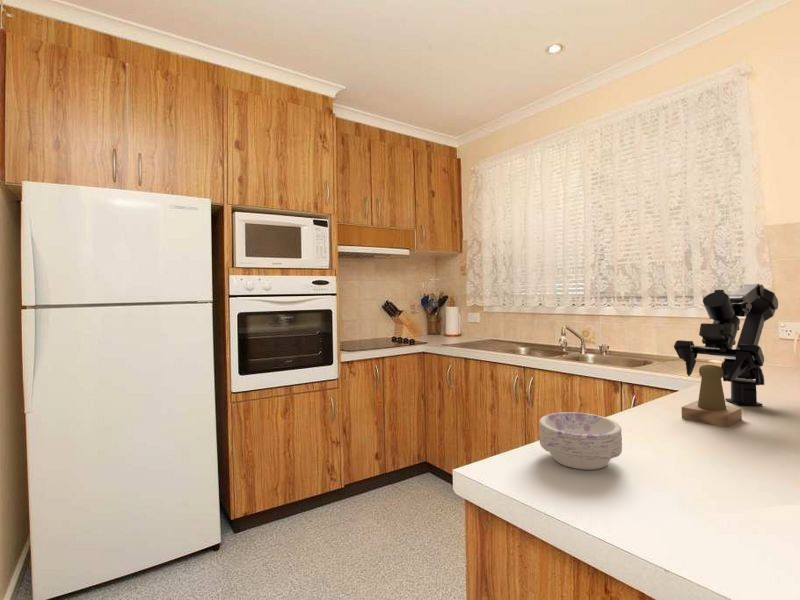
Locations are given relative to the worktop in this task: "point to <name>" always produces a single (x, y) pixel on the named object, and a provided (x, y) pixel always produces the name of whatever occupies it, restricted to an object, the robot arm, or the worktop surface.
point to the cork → (711, 388)
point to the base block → (712, 415)
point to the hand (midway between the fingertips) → (708, 377)
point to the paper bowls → (580, 439)
